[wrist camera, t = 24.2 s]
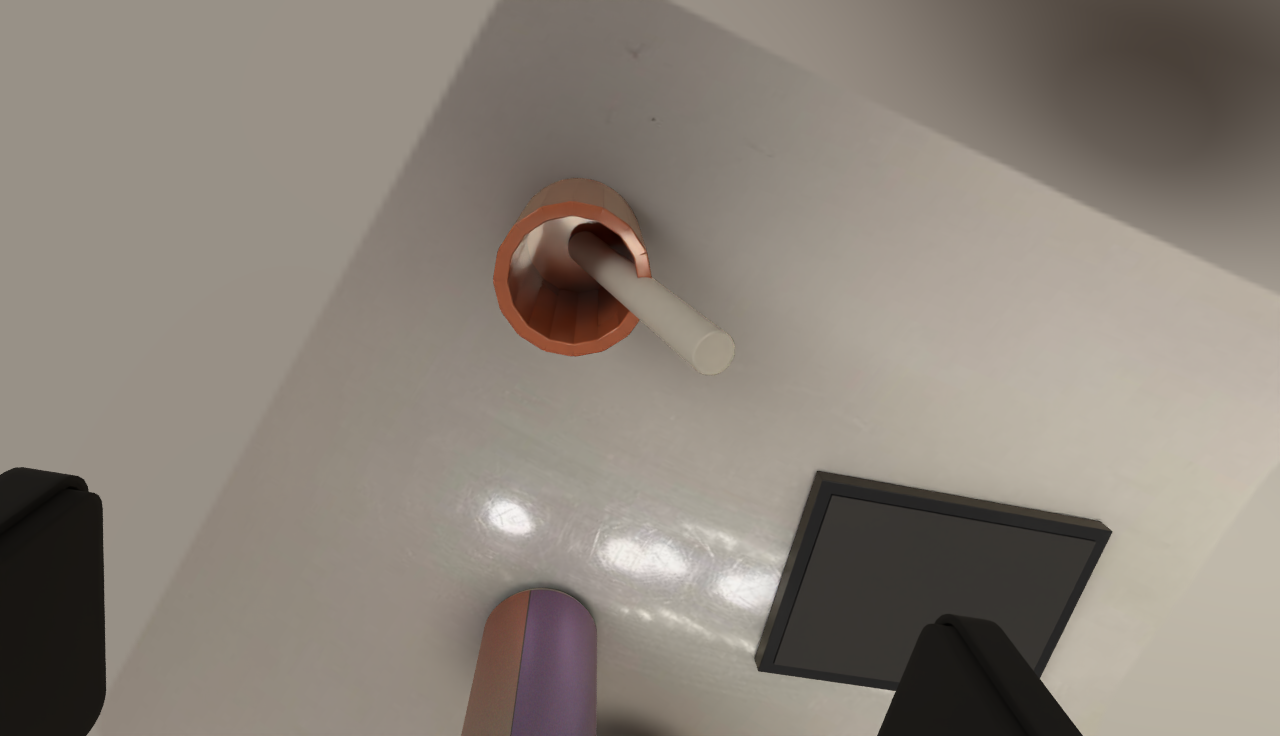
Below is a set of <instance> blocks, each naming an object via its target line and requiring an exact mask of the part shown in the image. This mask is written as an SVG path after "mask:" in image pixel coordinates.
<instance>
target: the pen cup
mask: <svg viewBox="0 0 1280 736" xmlns="http://www.w3.org/2000/svg"><path fill="white" fill-rule="evenodd" d="M583 231H587V232H591V233H593V234H594V235H595V236H597V237H598V238H599V239H601V240H602V241H604V242H605V243H606V244H608V245H609V246H610V247H612V248H613V249H614V250H616V251H617V252H618V253H620V254H621V255H622V256H624V257H625V258H626V259H628V260H629V261H630V262H632V263H633V264H634V265H635V269H636V274H637V278H640V277H648V278H652V276H651V270H650V264H649V258H648V253H647V250H646V247H645V244H644V240H643V237H642V234H641V231H640V227H639V224H638V221H637V219H636V217H635V215H634V213H633V212H632V210H631V208H630V206H629V205H628V204H627V202H626V201H625V199H623V197H621V195H620V194H618V193H617V192H616V191H615V190H613V189H612V188H610V187H609V186H607V185H605V184H603V183H600V182H598V181H594V180H591V179H585V178H570V179H564V180H560V181H557V182H554V183H552V184H550V185H548V186H547V187H545V188H543V189H542V190H541V191H540V192H538V193H537V194H536V195H534V196H533V197H532V198H531V200H530V201H529V203H528V204H527V206H526V207H525V209H524V210H523V212H522V213H521V215H520V216H519V218H518V219H517V221H516V223H515V224H514V226H513V227H512V229H511V230H510V232H509V233H508V235H507V236H506V238H505V240H504V241H503V243H502V244H501V246H500V247H499V249H498V252H497V257H496V264H495V270H494V276H493V280H494V281H493V284H494V288H495V292H496V296H497V300H498V304H499V308H500V310H501V312H502V313H503V315H504V316H505V318H506V319H507V320H508V322H509V323H510V324H511V326H512V327H513V328H514V330H515V331H516V332H517V334H519V335H520V336H521V337H522V338H524V339H526V340H527V341H529V342H530V343H532V344H534V345H535V346H537V347H538V348H540V349H542V350H545V351H546V352H551V353H557V354H562V355H567V356H581V355H586V354H592V353H597V352H602V351H605V350H606V349H608V348H609V347H611V346H613V345H614V344H616V343H617V342H619V341H621V340H622V339H624V338H625V337H627V336H628V335H629V334H630V333H631V331H632V330H633V329H634V327H635V326H636V325H637V323H638V322H639V319H638V318H637V317H636V316H635V315H634V314H633V313H632V312H631V311H629V310H628V309H627V308H626V307H625V306H624V305H623V304H622V303H621V302H619V301H618V300H617V299H616V298H615V297H614V296H613V295H612V294H610V293H609V292H608V291H607V290H606V289H605V288H604V287H603V286H602V285H600V284H599V283H598V282H597V281H596V280H595V279H594V278H593V277H592V276H590V275H589V274H588V273H587V272H586V271H585V270H584V269H583V268H581V267H580V266H579V265H578V264H577V263H576V262H575V261H574V260H573V259H572V258H571V257H570V255H569V252H568V241H569V238H570V237H571V236H572V235H573V234H575V233H579V232H583Z"/></svg>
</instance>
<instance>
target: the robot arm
mask: <svg viewBox="0 0 1280 736" xmlns="http://www.w3.org/2000/svg"><path fill="white" fill-rule="evenodd" d="M103 560H104V559H103V508H102V501H101V499H100V497H99V495H97V494H95V493H91V492H89V491H88V486H87V484H86V483H85V481H84V479H82V478H80V477H79V476H74V475H68V474H61V473H55V472H49V471H42V470H36V469H30V468H24V467H21V468H13V469H11V470H8V471H6V472H4V473H3V474H1V475H0V736H86V735H87V734H88V733H89V731H90V730H91V728H92V727H93V726H94V724H95V722H96V720H97V719H98V717H99V715H100V712H101V710H102V707H103V704H104V700H105V695H106V666H105V665H106V662H105V614H104V613H105V611H104V561H103ZM877 736H1083V735H1082V734H1081V733H1080V732H1079V730H1078V729H1077V728H1076V726H1075V725H1074V724H1073V722H1072V721H1071V720H1070V718H1069V717H1068V716H1067V714H1066V713H1065V712H1064V710H1063V709H1062V708H1061V706H1060V705H1059V704H1058V702H1057V701H1056V700H1055V698H1054V697H1053V696H1052V695H1051V693H1050V692H1049V691H1048V689H1047V688H1046V687H1045V685H1044V684H1043V683H1042V681H1041V680H1040V679H1039V677H1038V676H1037V675H1036V673H1035V672H1034V671H1033V669H1032V668H1031V667H1030V665H1029V664H1028V663H1027V661H1026V660H1025V659H1024V658H1023V656H1022V655H1021V654H1020V652H1019V651H1018V650H1017V648H1016V647H1015V646H1014V644H1013V643H1012V642H1011V640H1010V639H1009V638H1008V636H1007V635H1006V634H1005V632H1004V631H1003V630H1002V628H1001V627H1000V626H998V625H997V624H996V623H995V622H993V621H990V620H986V619H979V618H973V617H967V616H960V615H954V614H944V615H941V616H940V617H939V618H938V619H937V620H936V622H935V623H934V624H927V625H926V626H925V627H924V628H923V629H922V631H921V633H920V635H919V637H918V640H917V642H916V644H915V647H914V649H913V652H912V654H911V656H910V659H909V661H908V664H907V666H906V668H905V671H904V673H903V676H902V678H901V680H900V683H899V685H898V687H897V690H896V692H895V695H894V697H893V699H892V702H891V704H890V707H889V709H888V711H887V714H886V716H885V718H884V721H883V723H882V726H881V728H880V730H879V733H878V735H877Z"/></svg>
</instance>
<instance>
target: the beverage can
mask: <svg viewBox="0 0 1280 736" xmlns="http://www.w3.org/2000/svg"><path fill="white" fill-rule="evenodd" d="M596 704H597V631H596V626H595V623H594V621H593V618H592V617H591V615H590V613H589V612H588V611H587V609H586V608H585V607H584V606H583V605H582V604H581V603H580V602H578V601H577V600H576V599H575V598H573V597H572V596H570V595H568V594H566V593H564V592H561V591H558V590H554V589H549V588H533V589H528V590H524V591H521V592H518V593H516V594H514V595H512V596H510V597H509V598H507V599H505V600H504V601H503V602H501V603H500V604H499V605H498V606H497V607H496V608H495V609H494V610H493V611H492V612H491V614H490V616H489V617H488V619H487V622H486V624H485V628H484V633H483V637H482V642H481V647H480V651H479V656H478V660H477V665H476V670H475V674H474V679H473V683H472V688H471V693H470V697H469V702H468V707H467V711H466V716H465V720H464V725H463V730H462V734H461V736H596Z"/></svg>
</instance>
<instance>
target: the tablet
mask: <svg viewBox="0 0 1280 736" xmlns="http://www.w3.org/2000/svg"><path fill="white" fill-rule="evenodd" d="M1111 534H1112V531H1111V530H1110V529H1109V528H1108V527H1106V526H1105V525H1104V524H1103V523H1102V522H1100V521H1094V520H1089V519H1083V518H1078V517H1072V516H1066V515H1061V514H1055V513H1050V512H1044V511H1039V510H1033V509H1027V508H1022V507H1016V506H1011V505H1005V504H999V503H994V502H988V501H983V500H977V499H972V498H966V497H960V496H955V495H949V494H944V493H938V492H932V491H927V490H921V489H916V488H910V487H905V486H899V485H893V484H888V483H882V482H877V481H871V480H865V479H860V478H854V477H849V476H843V475H837V474H832V473H826V472H821V471H817V474H816V476H815V479H814V482H813V485H812V488H811V491H810V494H809V497H808V500H807V503H806V506H805V509H804V512H803V515H802V518H801V521H800V524H799V527H798V530H797V533H796V536H795V539H794V542H793V545H792V548H791V551H790V554H789V557H788V560H787V563H786V566H785V569H784V572H783V575H782V578H781V581H780V584H779V587H778V590H777V593H776V596H775V599H774V602H773V605H772V608H771V611H770V614H769V617H768V620H767V623H766V626H765V629H764V632H763V635H762V638H761V641H760V644H759V647H758V650H757V653H756V656H755V662H756V665H757V669H758V671H761V672H768V673H775V674H782V675H789V676H795V677H802V678H809V679H816V680H823V681H830V682H837V683H844V684H851V685H858V686H865V687H872V688H879V689H886V690H893V691H896V690H897V687H898V685H899V683H900V680H901V678H902V676H903V673H904V671H905V668H906V666H907V664H908V661H909V659H910V656H911V654H912V652H913V649H914V647H915V644H916V642H917V640H918V637H919V635H920V633H921V631H922V629H923V628H924V627H925V626H926V625H927V624H934V623H935V622H936V620H937V619H938V618H939V617H940V616H941V615H944V614H954V615H960V616H967V617H973V618H979V619H986V620H990V621H993V622H995V623H996V624H997V625H998V626H1000V627H1001V628H1002V630H1003V631H1004V632H1005V634H1006V635H1007V636H1008V638H1009V639H1010V640H1011V642H1012V643H1013V644H1014V646H1015V647H1016V648H1017V650H1018V651H1019V652H1020V654H1021V655H1022V656H1023V658H1024V659H1025V660H1026V661H1027V663H1028V664H1029V665H1030V667H1031V668H1032V669H1033V671H1034V672H1035V673H1036V675H1037V676H1038V677H1039V679H1040V677H1041V675H1042V673H1043V671H1044V669H1045V667H1046V665H1047V663H1048V661H1049V659H1050V657H1051V655H1052V653H1053V651H1054V649H1055V647H1056V645H1057V643H1058V641H1059V639H1060V637H1061V635H1062V633H1063V631H1064V629H1065V627H1066V625H1067V622H1068V620H1069V618H1070V616H1071V614H1072V612H1073V610H1074V608H1075V606H1076V604H1077V602H1078V600H1079V598H1080V596H1081V594H1082V592H1083V590H1084V588H1085V586H1086V584H1087V582H1088V580H1089V578H1090V576H1091V574H1092V572H1093V570H1094V568H1095V566H1096V564H1097V562H1098V560H1099V558H1100V556H1101V554H1102V552H1103V550H1104V548H1105V546H1106V544H1107V542H1108V540H1109V538H1110V536H1111Z"/></svg>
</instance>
